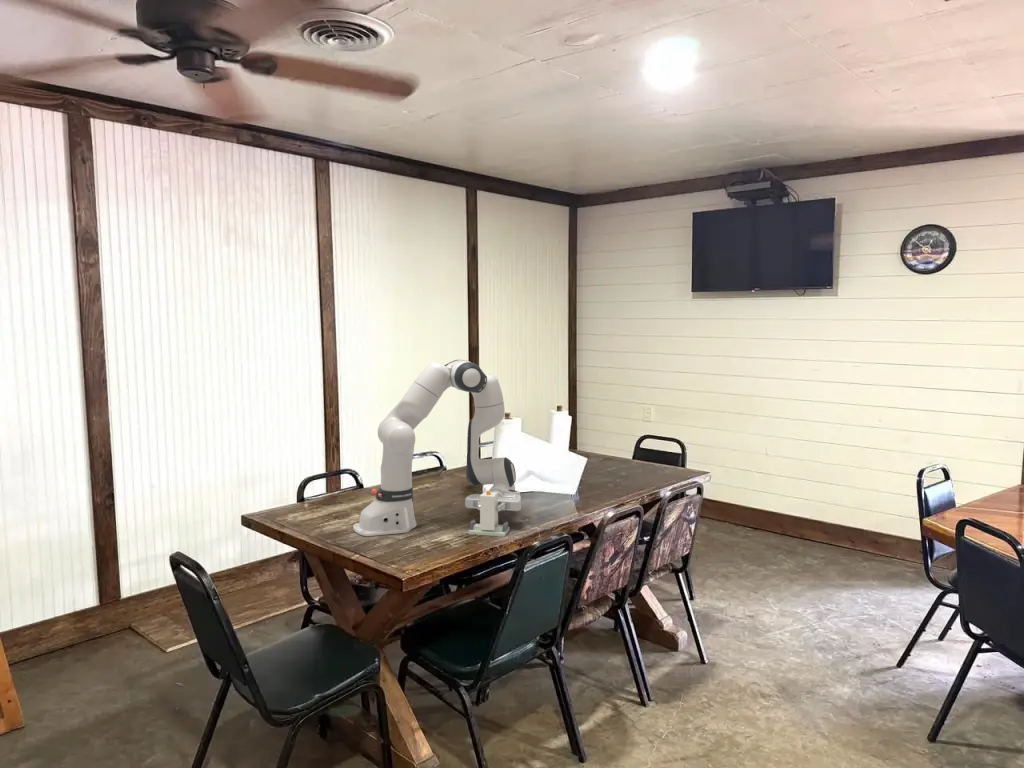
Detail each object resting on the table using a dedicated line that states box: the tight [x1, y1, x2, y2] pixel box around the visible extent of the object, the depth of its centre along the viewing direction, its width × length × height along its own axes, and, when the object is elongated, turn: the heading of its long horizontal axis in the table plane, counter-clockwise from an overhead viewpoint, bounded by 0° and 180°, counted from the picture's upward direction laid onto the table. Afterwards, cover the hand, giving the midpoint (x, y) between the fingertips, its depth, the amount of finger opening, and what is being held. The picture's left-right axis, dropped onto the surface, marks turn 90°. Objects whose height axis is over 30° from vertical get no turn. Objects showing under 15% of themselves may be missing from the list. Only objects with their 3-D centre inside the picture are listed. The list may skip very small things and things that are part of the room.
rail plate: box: [467, 519, 510, 538], centre depth 245 cm, size 8×13×3 cm, turn 78°
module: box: [479, 490, 499, 530], centre depth 245 cm, size 6×5×13 cm
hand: (488, 508), depth 244 cm, fingers closed on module, 5 cm apart
